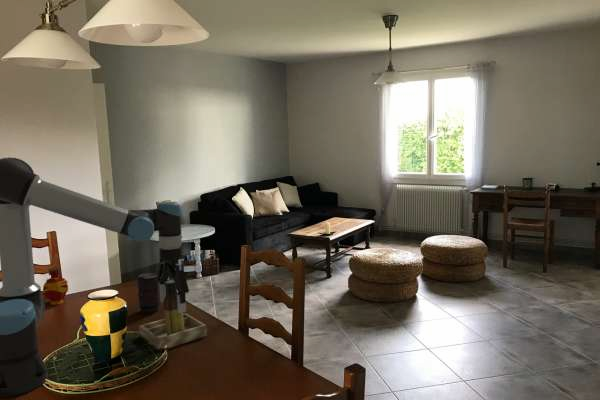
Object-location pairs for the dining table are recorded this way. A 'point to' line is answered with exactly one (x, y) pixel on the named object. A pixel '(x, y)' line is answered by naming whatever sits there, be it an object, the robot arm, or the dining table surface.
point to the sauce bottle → (172, 310)
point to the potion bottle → (55, 287)
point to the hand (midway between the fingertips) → (173, 306)
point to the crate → (158, 328)
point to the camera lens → (148, 293)
